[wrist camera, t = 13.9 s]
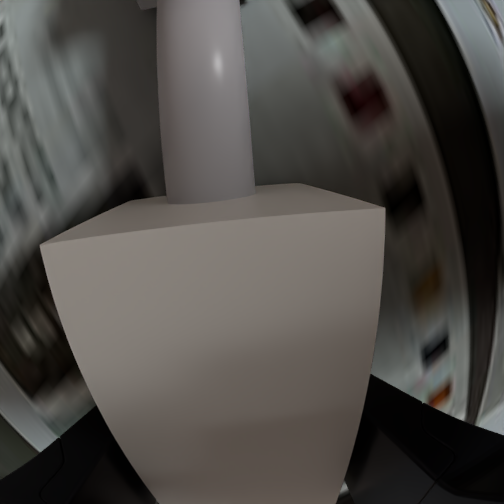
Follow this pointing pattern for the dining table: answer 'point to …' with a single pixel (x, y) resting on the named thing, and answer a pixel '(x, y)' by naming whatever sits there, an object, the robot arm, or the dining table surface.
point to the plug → (223, 297)
